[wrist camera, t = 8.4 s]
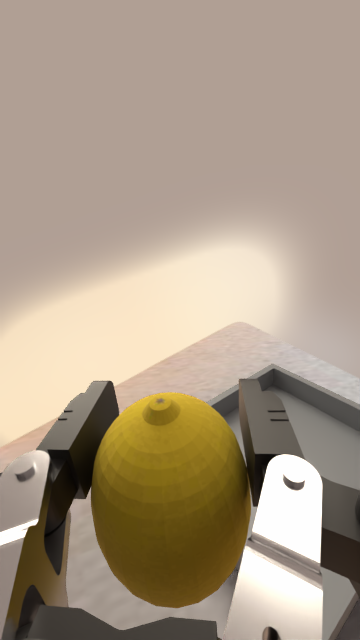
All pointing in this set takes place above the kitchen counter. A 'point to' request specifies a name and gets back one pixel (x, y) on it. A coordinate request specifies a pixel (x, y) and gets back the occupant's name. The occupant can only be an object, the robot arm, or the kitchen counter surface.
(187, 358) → the kitchen counter surface
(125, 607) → the kitchen counter surface
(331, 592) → the tray
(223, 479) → the lemon
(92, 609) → the kitchen counter surface
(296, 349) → the kitchen counter surface
